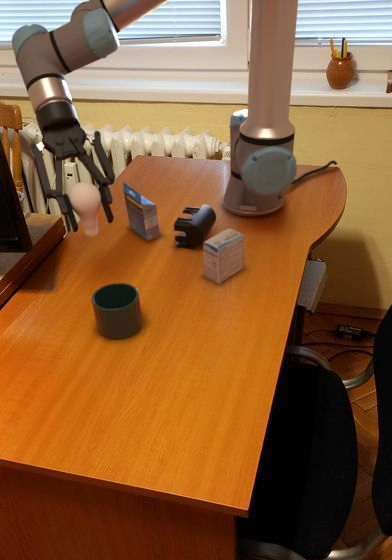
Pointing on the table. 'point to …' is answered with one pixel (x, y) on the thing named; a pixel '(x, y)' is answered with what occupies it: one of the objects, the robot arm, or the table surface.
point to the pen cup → (117, 311)
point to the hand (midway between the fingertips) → (93, 224)
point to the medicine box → (223, 255)
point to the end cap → (194, 226)
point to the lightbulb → (86, 205)
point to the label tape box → (141, 214)
